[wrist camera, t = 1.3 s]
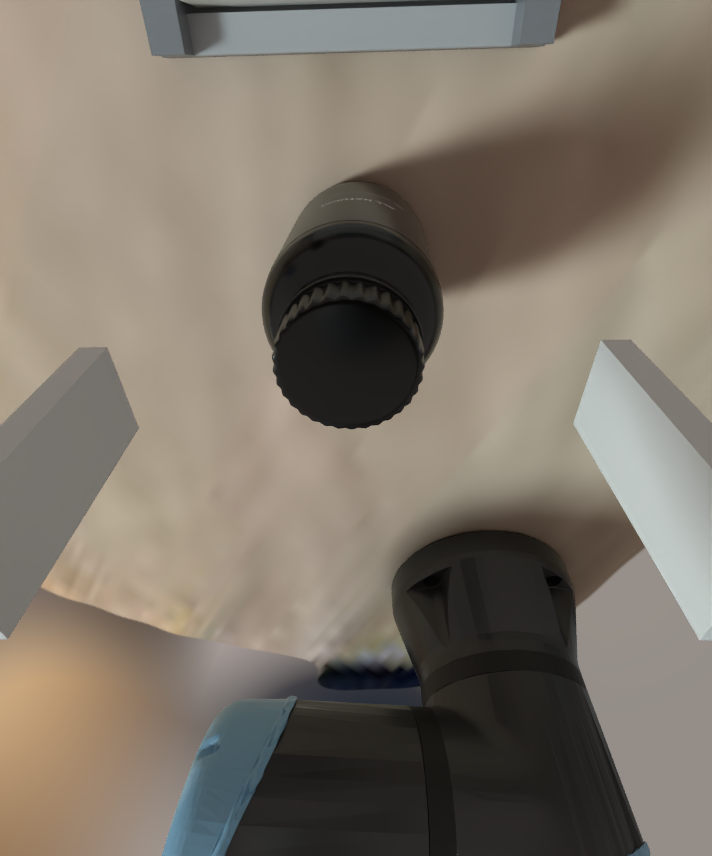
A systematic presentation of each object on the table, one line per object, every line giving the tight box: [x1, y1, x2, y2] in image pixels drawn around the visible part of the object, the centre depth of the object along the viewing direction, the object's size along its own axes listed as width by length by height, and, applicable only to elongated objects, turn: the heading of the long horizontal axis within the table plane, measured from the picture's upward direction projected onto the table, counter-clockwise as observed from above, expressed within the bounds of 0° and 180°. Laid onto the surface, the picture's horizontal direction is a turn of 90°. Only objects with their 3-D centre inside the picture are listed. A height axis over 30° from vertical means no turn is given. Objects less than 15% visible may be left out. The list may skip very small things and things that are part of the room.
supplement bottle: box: [262, 181, 444, 429], centre depth 19 cm, size 7×7×12 cm
